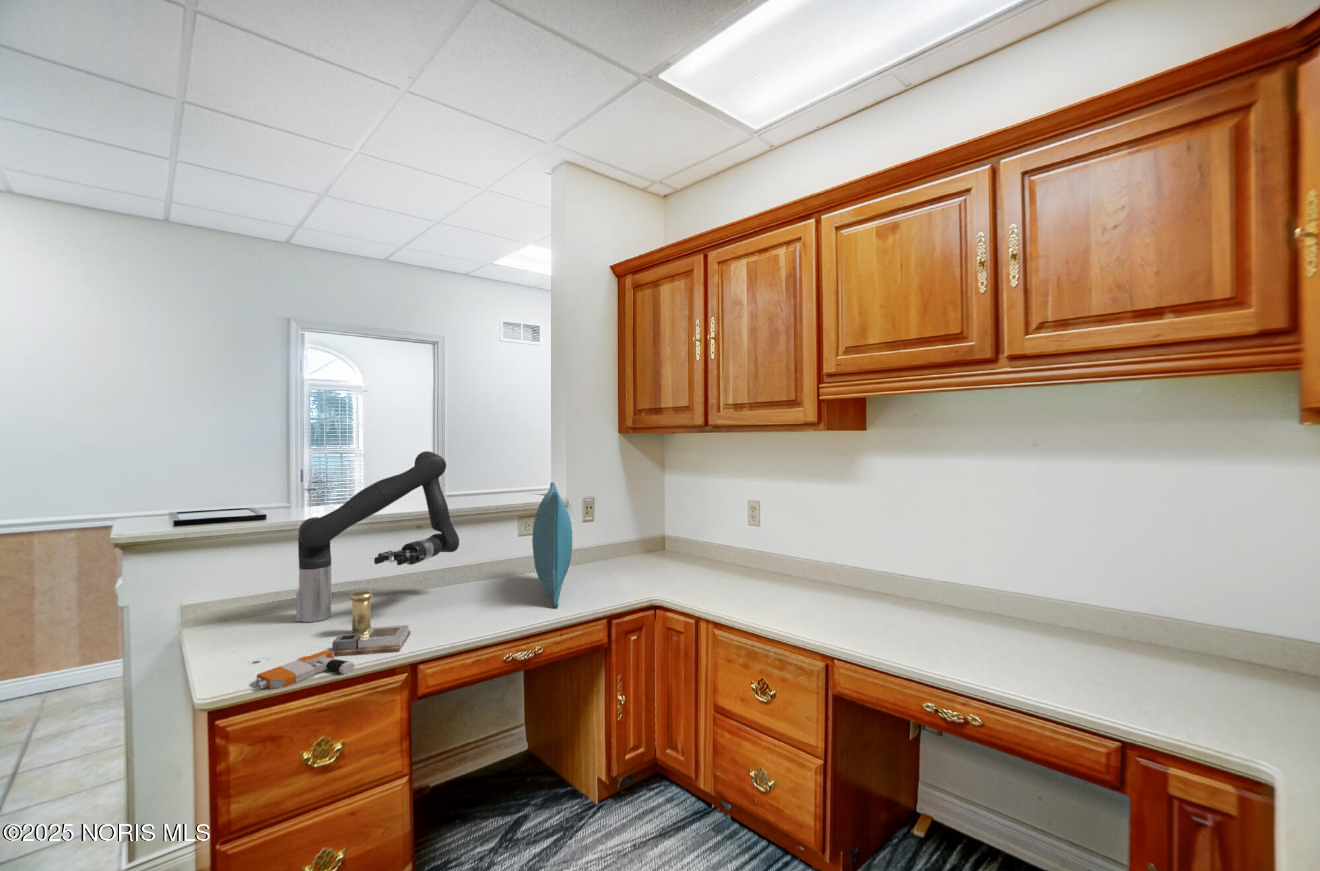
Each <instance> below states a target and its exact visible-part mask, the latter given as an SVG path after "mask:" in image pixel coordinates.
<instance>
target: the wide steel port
mask: <svg viewBox="0 0 1320 871" xmlns="http://www.w3.org/2000/svg"><path fill="white" fill-rule="evenodd" d="M409 628H410V626H409V624H406V625H405V624H404V625H402V624H401V625H388V626H373V627H372V626H370V627H369V628H368V629H367V631H366V632H365V633H364V634H363V635H362V636H361V638H360V639H359V640H358V649H368V648H382V647H396V646H401V644H402V643H403V641H404V640H405V638H406V636H407V635H408V633H409V631H410V629H409Z"/></svg>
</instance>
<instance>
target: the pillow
mask: <svg viewBox="0 0 1320 871" xmlns="http://www.w3.org/2000/svg"><path fill="white" fill-rule="evenodd" d="M531 542H532V554H533V561H534V568H535V572H536V575H537V577H538V579H539V581H540V583H541V584H542V586H543V587H544V588H545V589H546V591H547V592H548V594H549V595H550V597H551V599H552V601H553V608H556V609H558V608H559V602H560V600H559V599H560V595H561V590H562V586H563V583H564V580H565V578H566V576H567V573H568V570H569V568H570V565H571V560H572V555H573V527H572V521H571V517H570V514H569V512H568V509H567V507H566V505H565V503H564V502H563V499H562V497H561V495H560V494H559V491H558V489H557V486H556V483H555V482H554V481H552V482H550V486H549V489H548V491H547V492H546V493H545V495H544V497H543V498H542V500H541V501H540V503H539V506H538V509H537V510H536V513H535V518H534V522H533V527H532V541H531Z"/></svg>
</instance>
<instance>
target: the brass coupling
mask: <svg viewBox="0 0 1320 871" xmlns="http://www.w3.org/2000/svg"><path fill="white" fill-rule="evenodd" d="M373 597H374V591H371V590H361V591H355V592H352V593H350V594H349V600H350V601H352V602H351V603H352V604H351V605H352V608H351V609H352V611H351V613H352V615H351V616H352V617H351V618H352V619H351V620H352V622H351V629H352V630H351V632H352V633H351V634H357V633H363V634H364V633H365V632H366V631H367V629H368V628H369V627H371V608H372V607H371V606H372V605H371V603H372V602H371V599H372V598H373Z"/></svg>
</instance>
